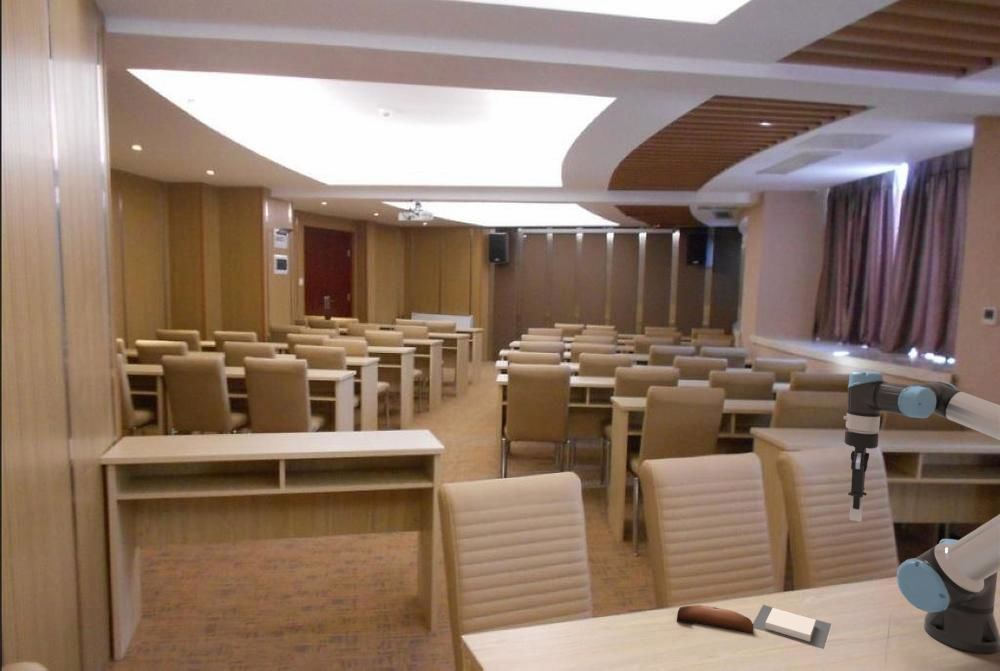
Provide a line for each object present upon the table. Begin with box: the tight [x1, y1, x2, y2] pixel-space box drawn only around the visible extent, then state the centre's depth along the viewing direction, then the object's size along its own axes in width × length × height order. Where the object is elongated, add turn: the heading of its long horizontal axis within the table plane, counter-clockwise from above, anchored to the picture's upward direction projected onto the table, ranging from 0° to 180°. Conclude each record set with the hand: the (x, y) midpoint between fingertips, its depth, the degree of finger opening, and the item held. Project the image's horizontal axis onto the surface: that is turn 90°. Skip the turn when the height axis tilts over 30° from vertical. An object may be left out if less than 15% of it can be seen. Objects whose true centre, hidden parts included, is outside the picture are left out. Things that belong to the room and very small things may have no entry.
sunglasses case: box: [676, 604, 754, 634], centre depth 160 cm, size 18×7×7 cm, turn 72°
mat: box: [752, 604, 832, 650], centre depth 158 cm, size 16×14×1 cm
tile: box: [765, 607, 817, 642], centre depth 157 cm, size 10×2×9 cm
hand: (855, 519), depth 166 cm, fingers closed
